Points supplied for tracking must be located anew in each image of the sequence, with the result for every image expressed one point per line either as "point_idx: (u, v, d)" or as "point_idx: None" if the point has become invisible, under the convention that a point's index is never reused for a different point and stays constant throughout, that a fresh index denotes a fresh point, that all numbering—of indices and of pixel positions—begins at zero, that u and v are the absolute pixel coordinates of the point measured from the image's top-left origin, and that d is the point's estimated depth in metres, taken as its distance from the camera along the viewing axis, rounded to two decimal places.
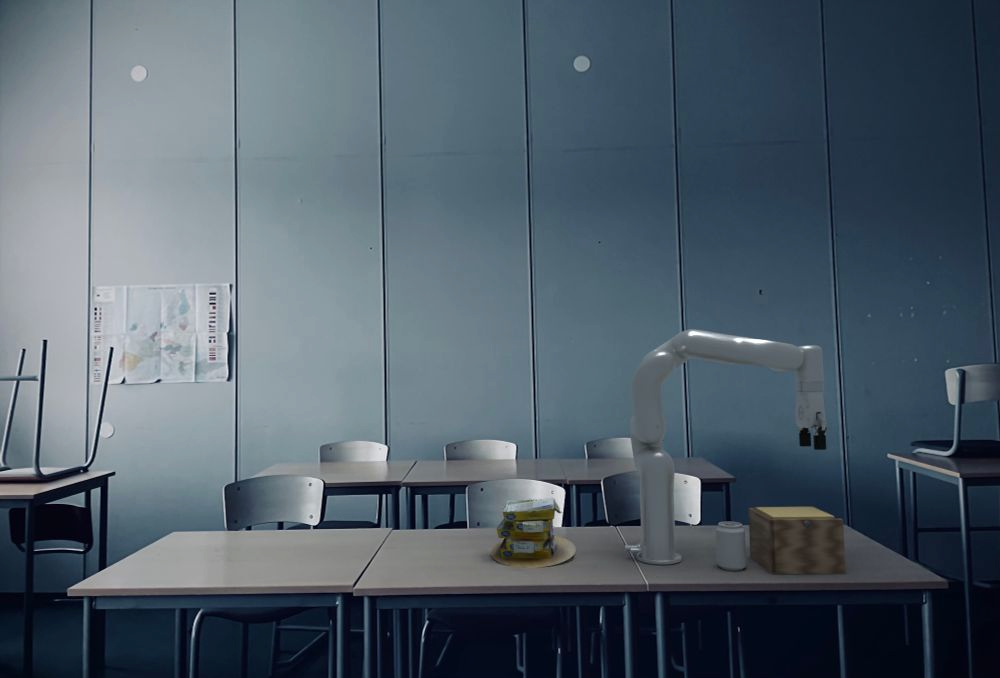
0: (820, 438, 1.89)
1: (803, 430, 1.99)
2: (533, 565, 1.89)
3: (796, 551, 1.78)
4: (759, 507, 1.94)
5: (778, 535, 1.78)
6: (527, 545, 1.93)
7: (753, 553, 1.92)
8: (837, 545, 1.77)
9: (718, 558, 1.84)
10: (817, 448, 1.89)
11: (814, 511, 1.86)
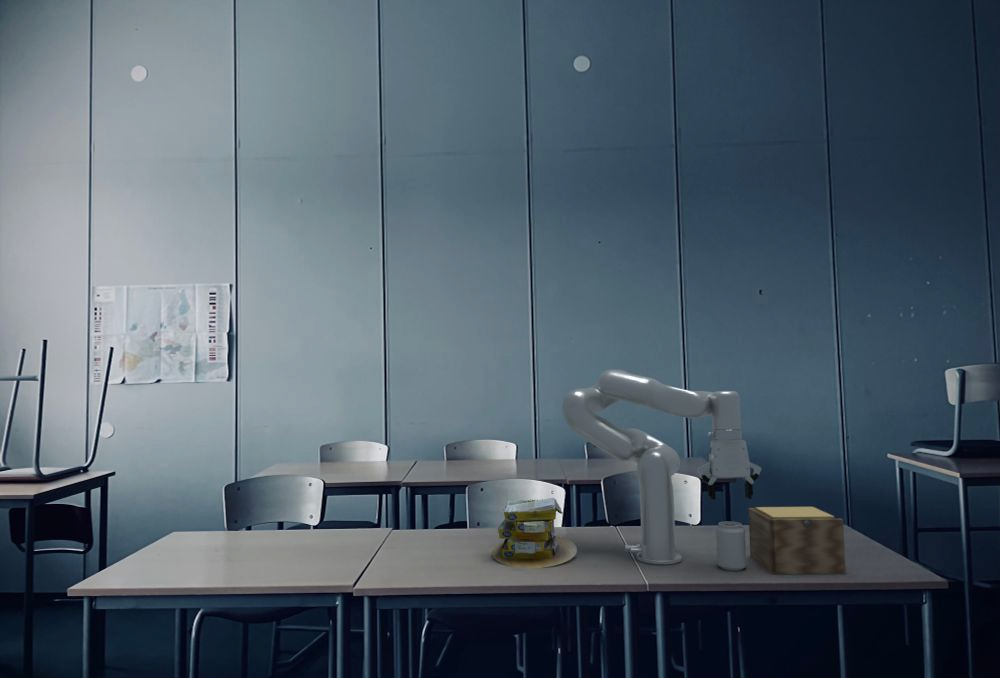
0: None
1: None
2: (535, 566, 1.88)
3: (796, 551, 1.78)
4: (759, 507, 1.94)
5: (778, 535, 1.78)
6: (528, 545, 1.92)
7: (753, 553, 1.92)
8: (837, 545, 1.77)
9: (718, 558, 1.84)
10: None
11: (814, 511, 1.86)
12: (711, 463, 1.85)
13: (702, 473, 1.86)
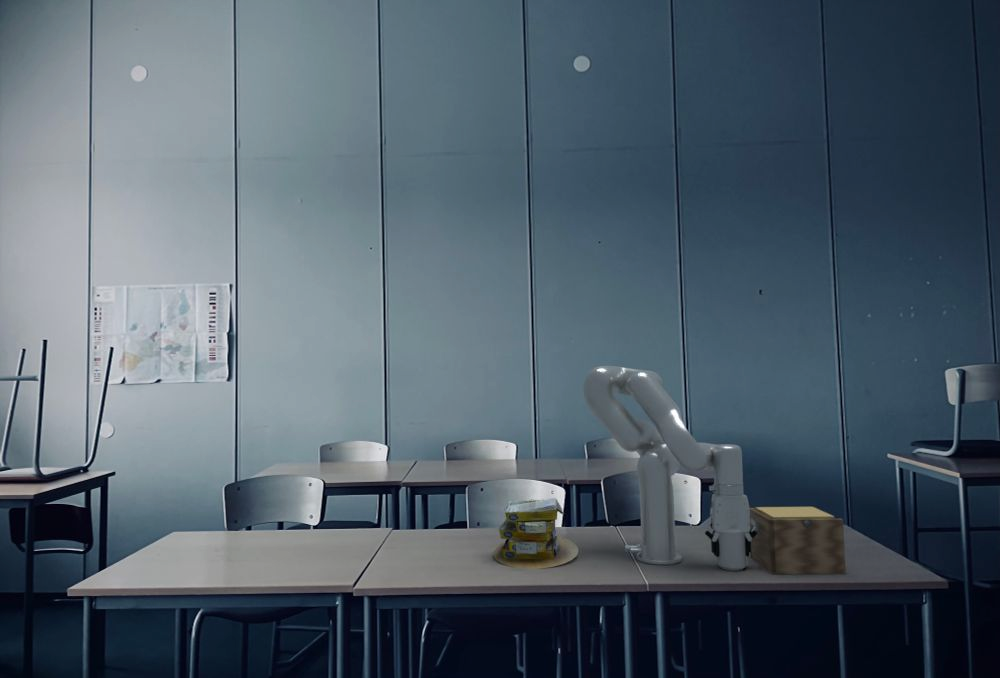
0: None
1: None
2: (536, 566, 1.88)
3: (796, 551, 1.78)
4: (759, 507, 1.94)
5: (778, 535, 1.78)
6: (529, 546, 1.92)
7: (753, 553, 1.92)
8: (837, 545, 1.77)
9: (718, 558, 1.84)
10: None
11: (814, 511, 1.86)
12: (712, 517, 1.84)
13: (705, 529, 1.85)
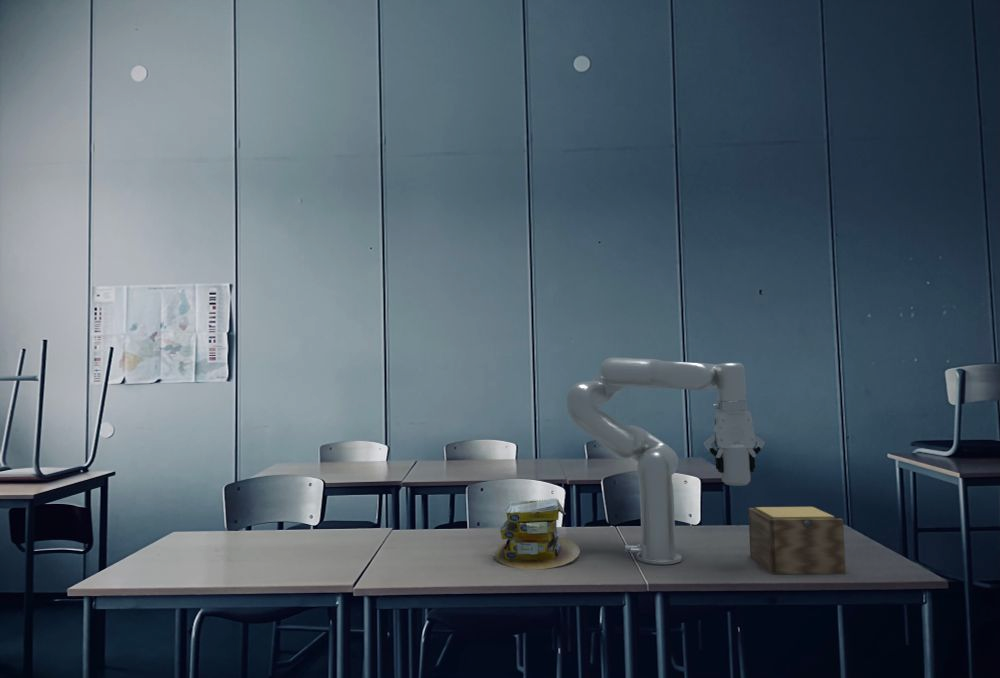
0: None
1: None
2: (537, 567, 1.87)
3: (796, 551, 1.78)
4: (759, 507, 1.94)
5: (778, 535, 1.78)
6: (531, 546, 1.91)
7: (753, 553, 1.92)
8: (837, 545, 1.77)
9: (722, 474, 1.85)
10: None
11: (814, 511, 1.86)
12: (716, 434, 1.86)
13: (709, 446, 1.86)
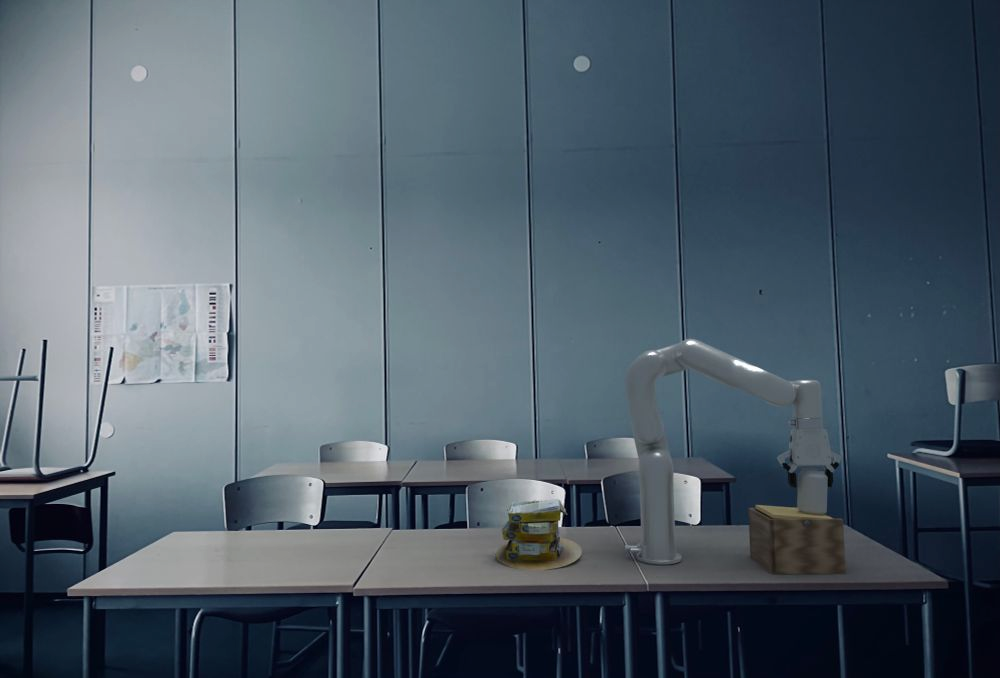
0: None
1: None
2: (539, 568, 1.87)
3: (796, 551, 1.78)
4: (759, 505, 1.94)
5: (778, 535, 1.78)
6: (532, 547, 1.90)
7: (753, 553, 1.92)
8: (837, 545, 1.77)
9: (799, 502, 1.86)
10: None
11: None
12: (792, 451, 1.86)
13: (782, 460, 1.87)
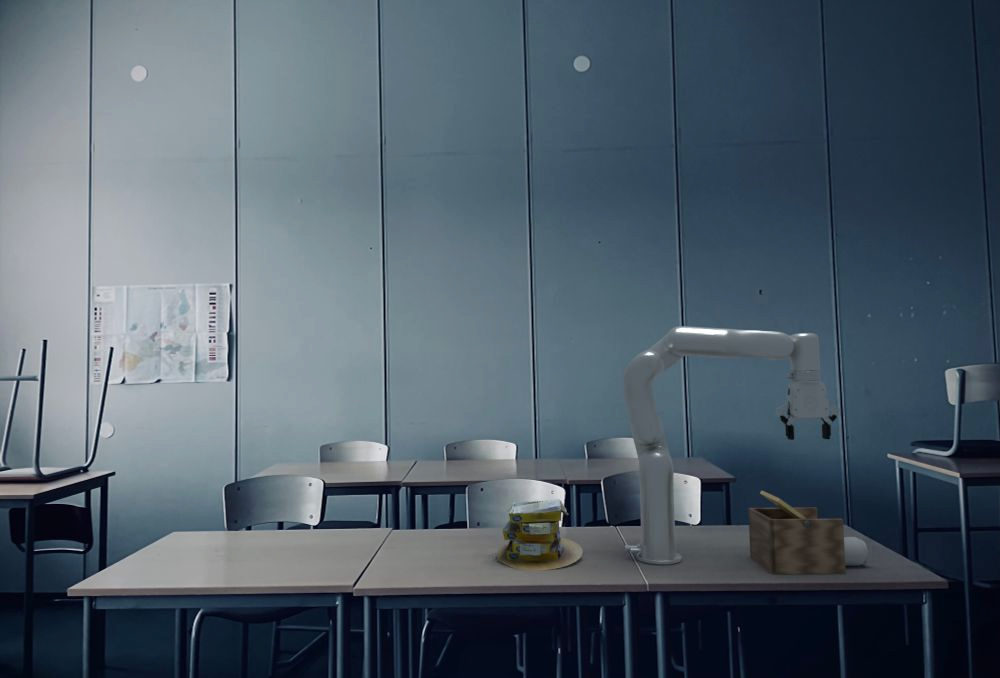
0: None
1: None
2: (540, 568, 1.86)
3: (796, 551, 1.78)
4: None
5: (778, 535, 1.78)
6: (533, 547, 1.90)
7: (753, 553, 1.92)
8: (837, 545, 1.77)
9: None
10: None
11: None
12: (790, 404, 1.87)
13: (780, 413, 1.88)
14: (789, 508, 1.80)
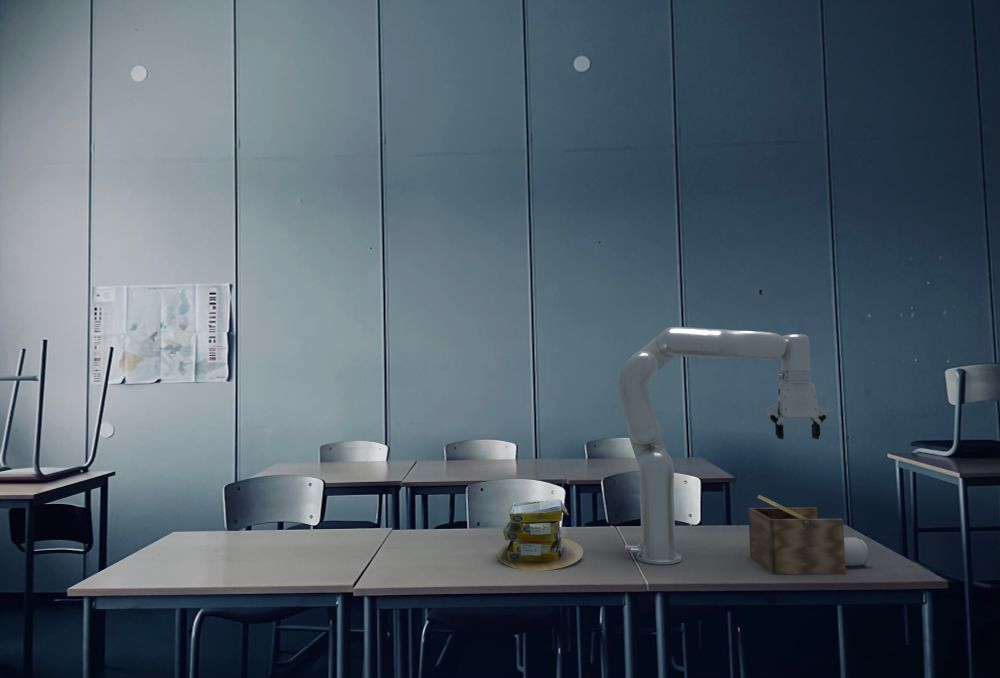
0: None
1: None
2: (541, 568, 1.86)
3: (796, 551, 1.78)
4: None
5: (778, 535, 1.78)
6: (534, 547, 1.90)
7: (753, 553, 1.92)
8: (837, 545, 1.77)
9: None
10: None
11: None
12: (780, 403, 1.90)
13: (770, 413, 1.91)
14: (787, 511, 1.80)
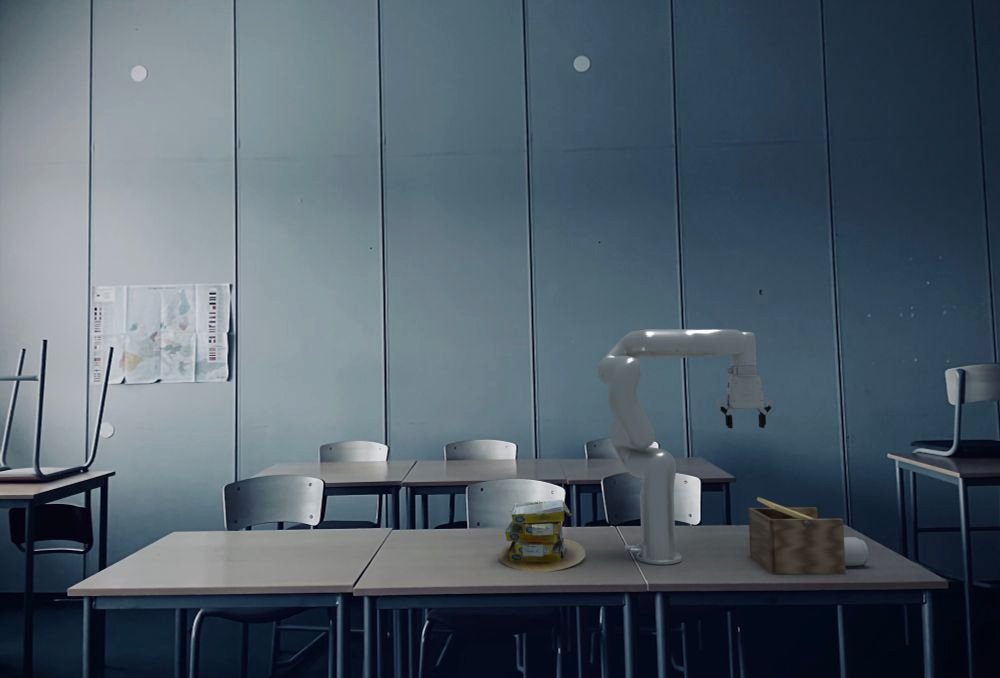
0: None
1: None
2: (543, 569, 1.85)
3: (796, 551, 1.78)
4: (761, 498, 1.94)
5: (778, 535, 1.78)
6: (536, 548, 1.89)
7: (753, 553, 1.92)
8: (837, 545, 1.77)
9: None
10: None
11: None
12: (729, 396, 2.07)
13: (720, 404, 2.07)
14: (787, 512, 1.80)
